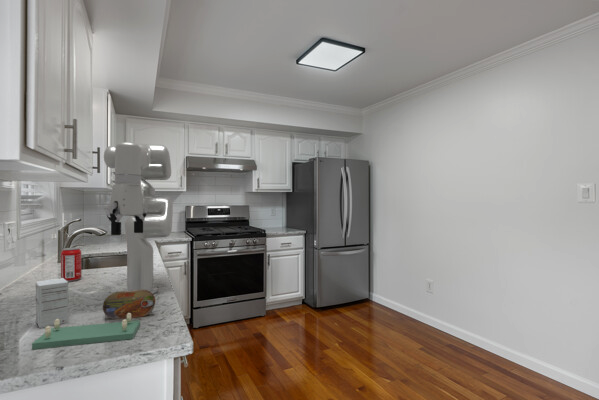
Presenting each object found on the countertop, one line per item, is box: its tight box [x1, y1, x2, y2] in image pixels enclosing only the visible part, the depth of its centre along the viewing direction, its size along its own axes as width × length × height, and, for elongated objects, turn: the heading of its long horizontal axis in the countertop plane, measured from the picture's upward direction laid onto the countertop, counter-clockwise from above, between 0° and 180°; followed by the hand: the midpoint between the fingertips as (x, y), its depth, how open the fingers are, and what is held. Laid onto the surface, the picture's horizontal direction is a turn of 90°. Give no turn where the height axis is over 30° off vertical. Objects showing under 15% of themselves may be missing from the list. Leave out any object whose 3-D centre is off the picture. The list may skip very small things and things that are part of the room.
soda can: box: [60, 247, 82, 283], centre depth 153 cm, size 8×8×15 cm
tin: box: [102, 290, 156, 320], centre depth 106 cm, size 15×3×8 cm, turn 105°
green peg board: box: [31, 313, 141, 350], centre depth 90 cm, size 10×23×5 cm, turn 106°
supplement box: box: [35, 277, 69, 329], centre depth 101 cm, size 7×7×13 cm
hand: (127, 233), depth 106 cm, fingers open, 9 cm apart
